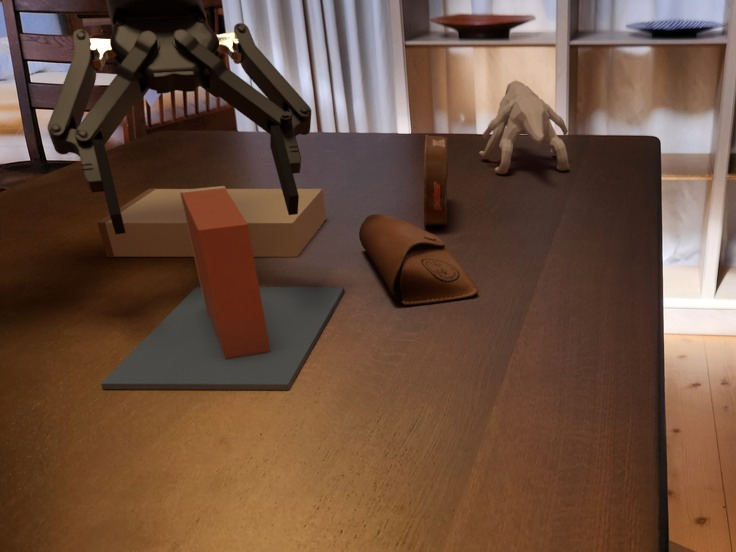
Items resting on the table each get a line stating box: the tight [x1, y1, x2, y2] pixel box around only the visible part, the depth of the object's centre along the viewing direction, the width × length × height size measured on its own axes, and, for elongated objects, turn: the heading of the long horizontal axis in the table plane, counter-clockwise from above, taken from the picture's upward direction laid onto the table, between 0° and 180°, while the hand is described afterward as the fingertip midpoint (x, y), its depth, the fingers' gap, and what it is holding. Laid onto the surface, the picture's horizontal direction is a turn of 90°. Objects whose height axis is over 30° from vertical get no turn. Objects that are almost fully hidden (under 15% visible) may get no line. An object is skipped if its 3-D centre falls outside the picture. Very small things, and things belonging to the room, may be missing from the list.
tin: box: [423, 134, 449, 227], centre depth 101 cm, size 15×3×8 cm, turn 4°
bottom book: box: [97, 187, 327, 258], centre depth 97 cm, size 20×14×4 cm
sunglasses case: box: [358, 213, 479, 306], centre depth 86 cm, size 18×7×7 cm
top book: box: [180, 185, 270, 359], centre depth 71 cm, size 4×12×10 cm, turn 23°
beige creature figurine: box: [478, 79, 570, 175], centre depth 121 cm, size 12×25×10 cm, turn 11°
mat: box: [100, 286, 345, 391], centre depth 74 cm, size 14×21×1 cm, turn 178°
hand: (208, 215), depth 71 cm, fingers open, 13 cm apart
